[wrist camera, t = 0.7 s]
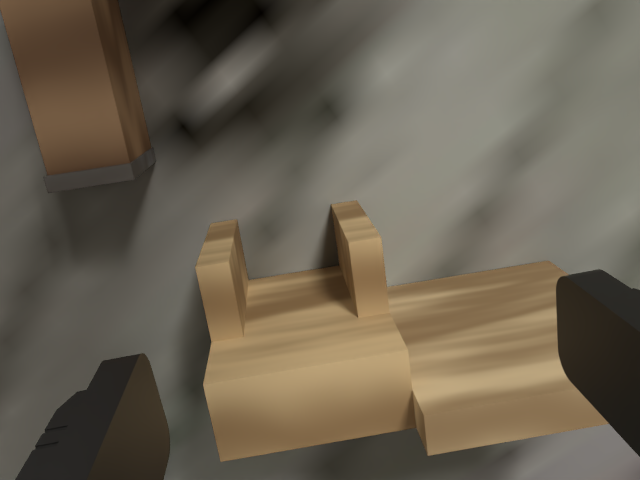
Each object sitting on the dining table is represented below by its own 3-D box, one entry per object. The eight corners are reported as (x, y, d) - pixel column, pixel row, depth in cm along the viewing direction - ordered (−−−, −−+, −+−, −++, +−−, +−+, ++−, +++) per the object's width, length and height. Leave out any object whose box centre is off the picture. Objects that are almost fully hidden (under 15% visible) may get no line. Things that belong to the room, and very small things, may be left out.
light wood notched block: (210, 223, 35) (176, 320, 22) (546, 170, 36) (710, 232, 23) (235, 341, 38) (217, 493, 24) (549, 288, 38) (699, 407, 25)
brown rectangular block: (19, -71, 30) (-37, -102, 24) (101, -82, 30) (63, -116, 25) (84, 172, 34) (47, 193, 28) (156, 161, 34) (134, 179, 28)
